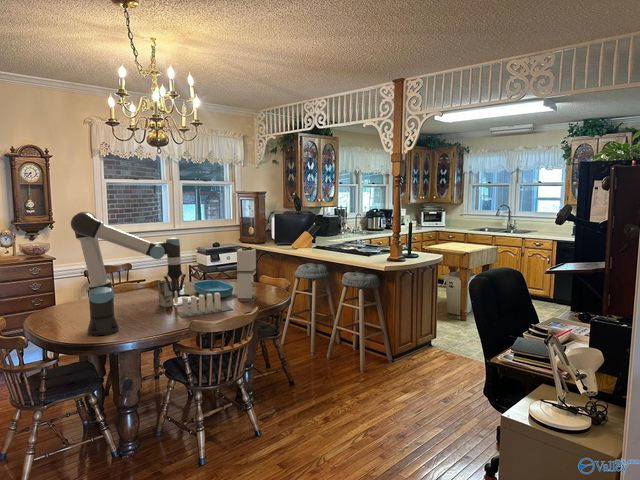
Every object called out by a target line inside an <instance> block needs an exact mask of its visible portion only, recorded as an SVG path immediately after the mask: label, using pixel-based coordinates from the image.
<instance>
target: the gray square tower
mask: <svg viewBox="0 0 640 480" xmlns="http://www.w3.org/2000/svg"><path fill="white" fill-rule="evenodd" d="M256 251H257V250H256V248H252V249H250V250H249V249H248V250H243V248H241V247H240V248H239V249H237V250H236V272H237V273H236V274H237V276H236V277H237V282H236V283H237V301H238V302H254V301H255V300H256V298H257V293H253V292H252V291H253V290H252V285H254V275H255V274H257V257H256V256H257V252H256Z"/></svg>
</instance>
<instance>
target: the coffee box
mask: <svg viewBox="0 0 640 480" xmlns="http://www.w3.org/2000/svg"><path fill="white" fill-rule="evenodd" d="M169 283H170V287H171V289H172V283H171V281H170V280H169ZM157 291H158V305H159V306H160V307H164V308H169V307H173V305H175V302H174V297H173V296H172V292H170V291H169V289H168V286H167V283H166V280H165V279H164V280H159V281H157Z"/></svg>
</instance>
